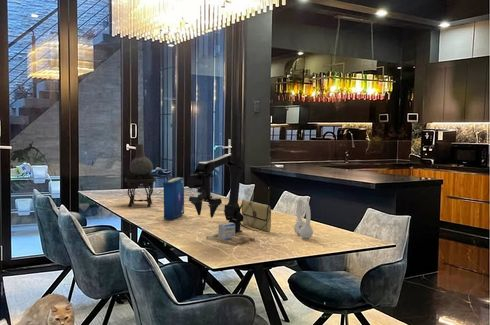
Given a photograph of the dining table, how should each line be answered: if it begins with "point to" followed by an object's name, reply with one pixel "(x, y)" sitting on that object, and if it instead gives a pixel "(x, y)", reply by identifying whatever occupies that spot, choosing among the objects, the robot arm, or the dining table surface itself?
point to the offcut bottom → (241, 242)
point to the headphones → (301, 226)
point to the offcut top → (240, 238)
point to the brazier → (140, 175)
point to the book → (173, 198)
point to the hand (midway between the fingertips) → (205, 216)
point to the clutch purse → (256, 215)
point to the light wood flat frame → (213, 237)
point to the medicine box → (226, 231)
